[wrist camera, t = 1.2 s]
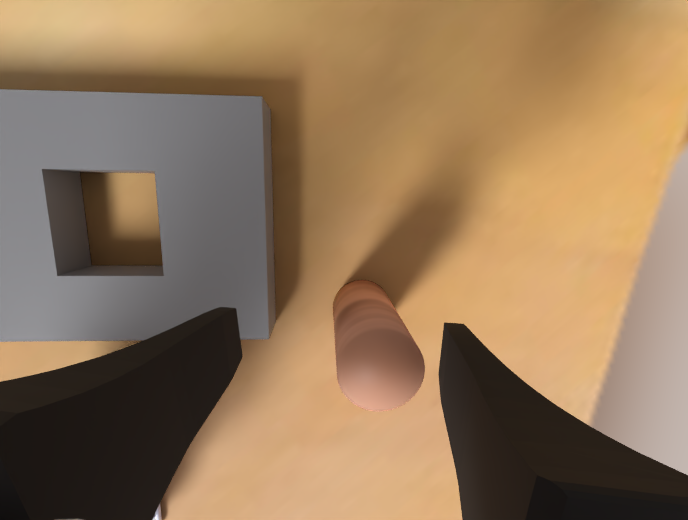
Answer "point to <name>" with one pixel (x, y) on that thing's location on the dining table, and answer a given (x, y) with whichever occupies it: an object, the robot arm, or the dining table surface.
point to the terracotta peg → (374, 349)
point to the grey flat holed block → (173, 209)
